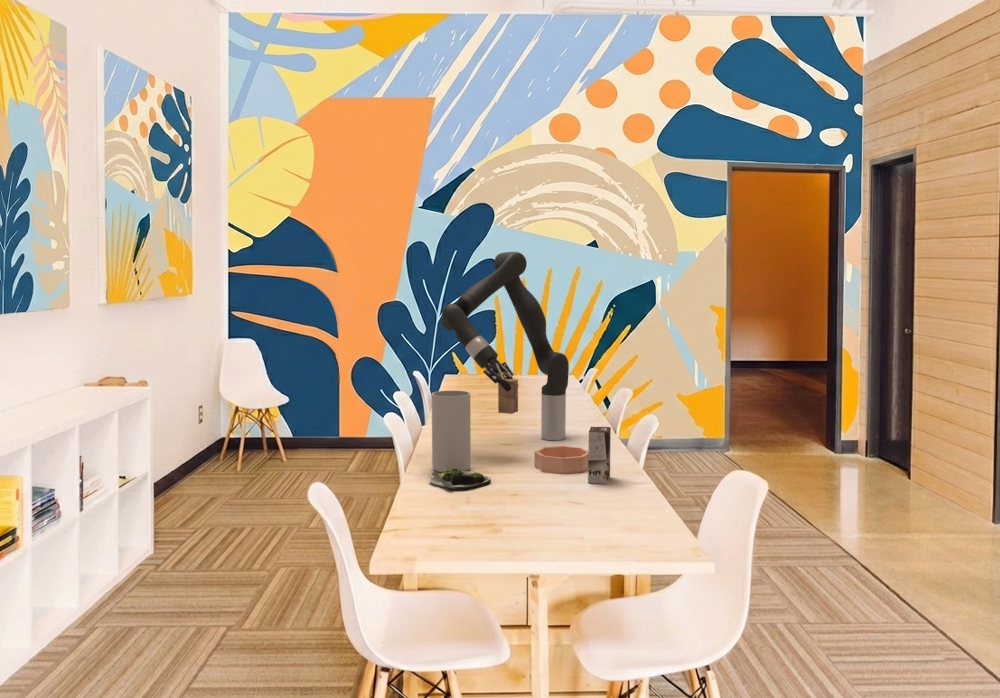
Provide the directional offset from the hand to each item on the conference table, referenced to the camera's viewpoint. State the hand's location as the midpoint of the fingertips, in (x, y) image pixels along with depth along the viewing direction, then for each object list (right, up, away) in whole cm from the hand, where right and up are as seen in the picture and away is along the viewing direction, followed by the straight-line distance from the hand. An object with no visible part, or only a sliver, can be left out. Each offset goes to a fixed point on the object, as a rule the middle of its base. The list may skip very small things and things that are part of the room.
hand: (513, 388), depth 280 cm
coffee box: (+26, -27, -23) cm, 45 cm away
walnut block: (-2, -8, +2) cm, 8 cm away
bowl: (+16, -25, -7) cm, 31 cm away
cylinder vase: (-20, -26, -10) cm, 34 cm away
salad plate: (-17, -28, -27) cm, 42 cm away
